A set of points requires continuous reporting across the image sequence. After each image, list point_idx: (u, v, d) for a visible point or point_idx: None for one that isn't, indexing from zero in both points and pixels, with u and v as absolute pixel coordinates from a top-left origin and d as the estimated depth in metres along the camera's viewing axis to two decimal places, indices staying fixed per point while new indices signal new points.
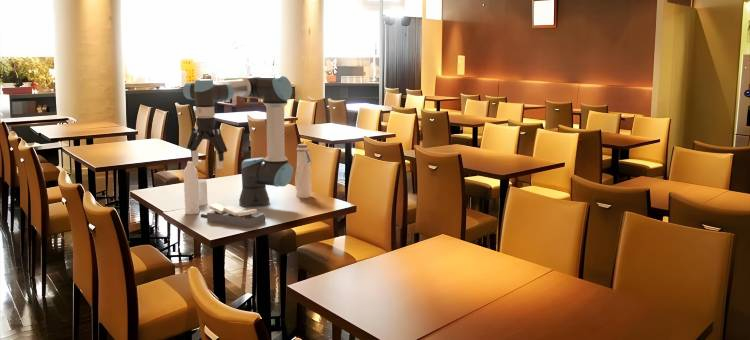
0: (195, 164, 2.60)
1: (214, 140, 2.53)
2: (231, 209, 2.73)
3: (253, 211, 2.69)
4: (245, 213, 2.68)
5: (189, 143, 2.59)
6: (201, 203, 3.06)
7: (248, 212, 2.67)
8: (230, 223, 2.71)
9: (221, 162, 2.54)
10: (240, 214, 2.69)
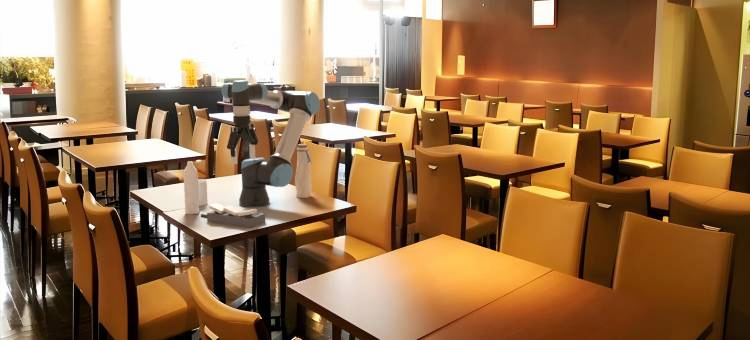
0: (251, 157, 2.87)
1: (235, 137, 2.75)
2: (231, 209, 2.73)
3: (253, 211, 2.69)
4: (245, 213, 2.68)
5: None
6: (201, 203, 3.06)
7: (248, 212, 2.67)
8: (230, 223, 2.71)
9: (234, 158, 2.74)
10: (240, 214, 2.69)
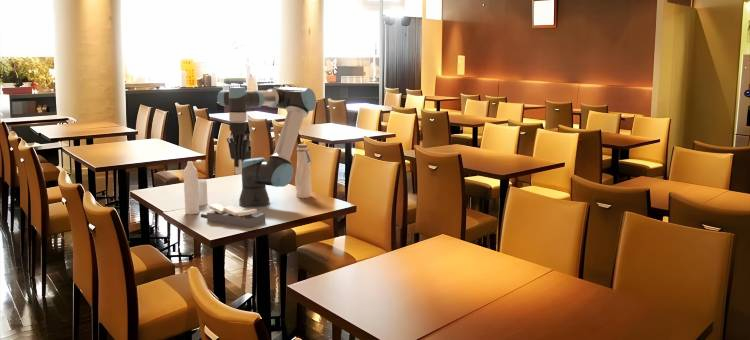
0: None
1: (235, 146, 2.74)
2: (231, 209, 2.73)
3: (253, 211, 2.69)
4: (245, 213, 2.68)
5: None
6: (201, 203, 3.06)
7: (248, 212, 2.67)
8: (230, 223, 2.71)
9: (238, 168, 2.76)
10: (240, 214, 2.69)
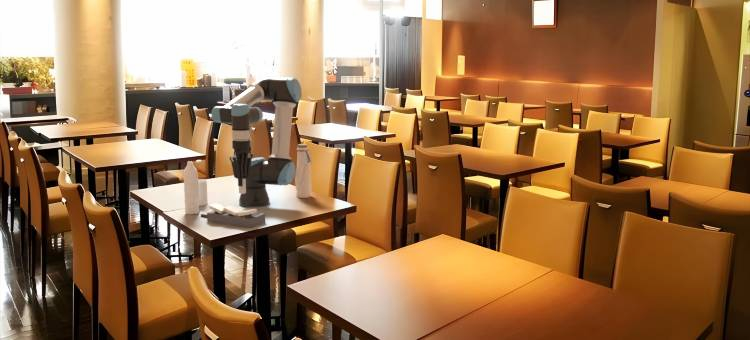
0: None
1: (238, 165, 2.65)
2: (231, 209, 2.73)
3: (253, 211, 2.69)
4: (245, 213, 2.68)
5: None
6: (201, 203, 3.06)
7: (248, 212, 2.67)
8: (230, 223, 2.71)
9: (242, 187, 2.68)
10: (240, 214, 2.69)
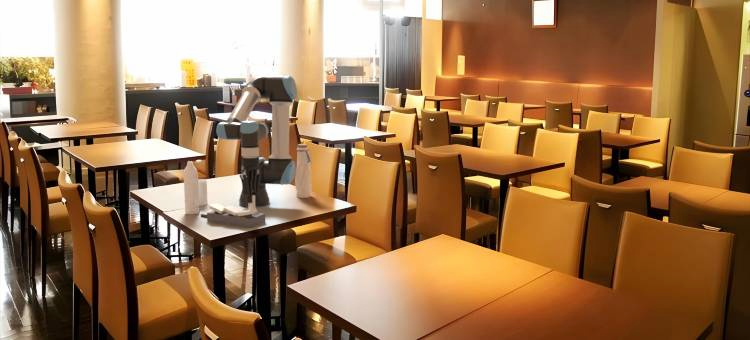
0: None
1: (247, 182, 2.65)
2: (231, 209, 2.73)
3: (253, 211, 2.69)
4: (245, 213, 2.68)
5: None
6: (201, 203, 3.06)
7: (248, 212, 2.67)
8: (230, 223, 2.71)
9: (251, 204, 2.68)
10: (240, 214, 2.69)
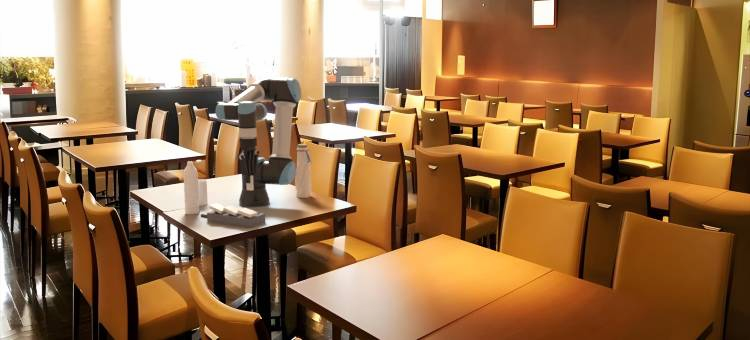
0: None
1: (245, 162, 2.67)
2: (231, 209, 2.73)
3: (253, 214, 2.69)
4: (245, 214, 2.68)
5: None
6: (201, 203, 3.06)
7: (249, 215, 2.67)
8: (230, 223, 2.71)
9: (250, 184, 2.70)
10: (240, 212, 2.69)
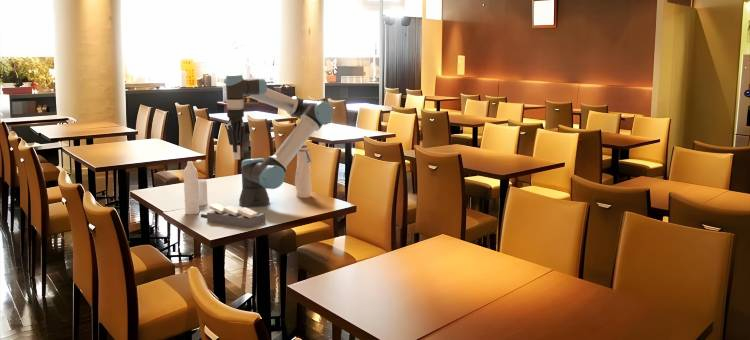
0: None
1: (233, 132, 2.82)
2: (231, 209, 2.73)
3: (253, 215, 2.69)
4: (245, 214, 2.68)
5: None
6: (201, 203, 3.06)
7: (249, 215, 2.67)
8: (230, 223, 2.71)
9: (236, 154, 2.85)
10: (240, 212, 2.69)
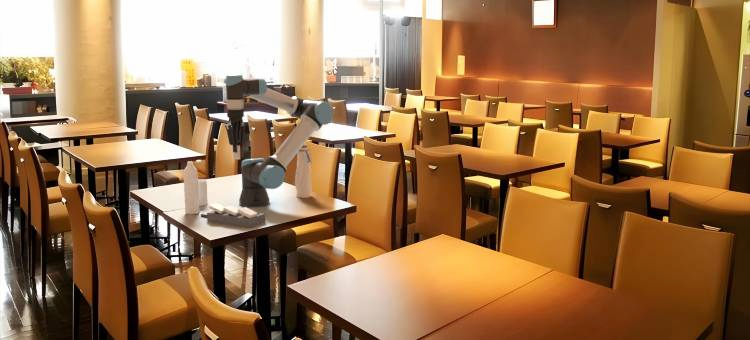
0: None
1: (233, 132, 2.82)
2: (231, 209, 2.73)
3: (253, 215, 2.69)
4: (245, 214, 2.68)
5: None
6: (201, 203, 3.06)
7: (249, 215, 2.67)
8: (230, 223, 2.71)
9: (236, 154, 2.85)
10: (240, 212, 2.69)
